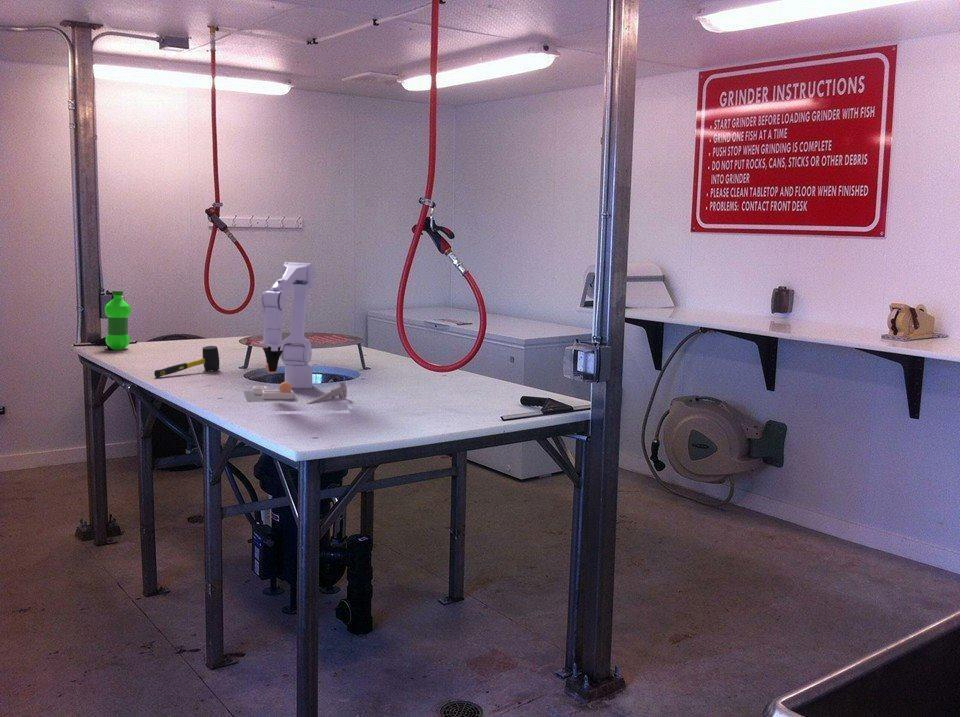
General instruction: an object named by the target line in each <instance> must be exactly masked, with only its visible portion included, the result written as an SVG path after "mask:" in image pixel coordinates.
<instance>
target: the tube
mask: <svg viewBox="0 0 960 717" xmlns="http://www.w3.org/2000/svg"><path fill="white" fill-rule="evenodd" d="M262 390H268V387H267V386H266V385H254V386H252V391H253V394H262Z"/></svg>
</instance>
